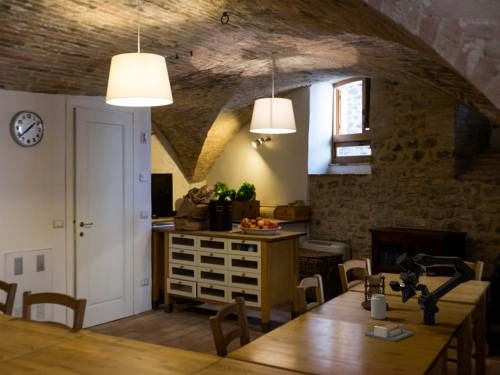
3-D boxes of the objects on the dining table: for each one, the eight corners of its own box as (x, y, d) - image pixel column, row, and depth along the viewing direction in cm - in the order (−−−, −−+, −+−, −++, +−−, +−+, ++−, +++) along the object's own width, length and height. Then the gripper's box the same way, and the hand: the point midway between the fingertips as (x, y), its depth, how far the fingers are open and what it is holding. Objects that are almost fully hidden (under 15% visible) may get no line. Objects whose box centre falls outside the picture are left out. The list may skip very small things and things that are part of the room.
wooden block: (390, 322, 256) (377, 328, 248) (399, 324, 252) (387, 330, 244) (390, 325, 256) (377, 330, 248) (399, 327, 252) (387, 332, 244)
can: (386, 320, 276) (386, 296, 276) (371, 319, 278) (371, 296, 278) (385, 316, 284) (385, 293, 283) (371, 315, 285) (370, 293, 285)
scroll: (387, 305, 308) (387, 270, 308) (389, 312, 293) (389, 275, 293) (360, 304, 310) (360, 270, 310) (361, 311, 296) (361, 274, 296)
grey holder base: (384, 328, 262) (384, 317, 262) (413, 334, 251) (413, 323, 251) (365, 335, 250) (365, 324, 250) (394, 342, 239) (394, 331, 239)
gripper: (390, 264, 268) (379, 290, 260) (426, 267, 255) (415, 295, 247) (398, 277, 274) (387, 303, 266) (433, 281, 261) (423, 309, 253)
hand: (403, 302), depth 258 cm, fingers closed
